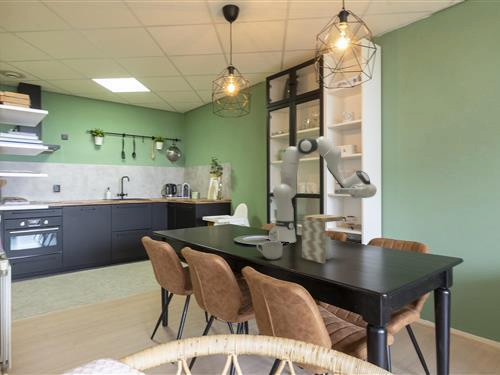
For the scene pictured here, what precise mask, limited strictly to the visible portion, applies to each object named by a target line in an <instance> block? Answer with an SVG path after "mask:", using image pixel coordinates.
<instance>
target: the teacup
mask: <svg viewBox="0 0 500 375" xmlns="http://www.w3.org/2000/svg"><path fill="white" fill-rule="evenodd" d="M283 244H284V243H281V242H277V241H269V240H266V241H263V242H258V243H257V244H256V249H257V250H258V251H259V252H260V253H261V254H262V255H263V257H264V258H265V259H267V260H272V261H273V260H274V261H275V260H278V259H280V258H281V257H282V255H283ZM259 246H260V247H261V248H262V249H261V248H260V247H259Z"/></svg>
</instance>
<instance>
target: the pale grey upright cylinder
mask: <svg viewBox="0 0 500 375" xmlns="http://www.w3.org/2000/svg"><path fill="white" fill-rule="evenodd" d="M331 239H332V238H331V236H328V235H325V257H326V260H331V258H332V256H331V254H332V253H331V251H332V250H331V249H332V248H331V246H332V245H331V243H332V242H331V241H332V240H331Z"/></svg>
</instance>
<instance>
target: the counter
mask: <svg viewBox="0 0 500 375" xmlns="http://www.w3.org/2000/svg"><path fill="white" fill-rule="evenodd" d="M339 221H340V222H342V221H343V216H342V215H341V216H340V215H331V214H324V213H321V214H320V213H318V214H308V215H307V214H306V215H301V259H306V260H308V261H312V262H316V263H320V264H323V265H325V264H326V263H327V262H326V257H325V236H326V223H330V222H339Z"/></svg>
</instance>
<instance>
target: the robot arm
mask: <svg viewBox="0 0 500 375" xmlns="http://www.w3.org/2000/svg"><path fill="white" fill-rule="evenodd" d="M314 152H315V153H318V154H319V155H320V156H321V157H322V158H323V159H324V160H325V162H326V169H327V170H328V171H329V173H330V174H331V176H332V177H333V178H334V179H335V181H336V182H337V184H338V186H339V187H338V188H336V187H335V188H334V191H333V193H334V194H335V195H344V196H345V195H347V196H348V195H349V196H350V197H351V198H352V199H355V200H356V199H369V198H372V197H374V196H376V194H377V187H376V185H374V184H373V183H372V182H371V179H370V177H369V175H368V173H366V172H365V171H363V170H356V171H355V172H353V173H352V174H351V175H350V176H349V177H348V178H345V177H344V176H343V174H342V173H341V171H340V169H339V164H340V161H341V159H342V151H341V149H340V148H339V147H338V146H337V145H336V144H335V143H334V142H333V141H331V139H329V138H327V137H326V136H323V135H321V136H319V137H317V138H316V139H315V138H310V137H303V138H302V139H300V140H299V141H298V143H297V145H296V146H292V145H291V146H288V147H286V149H285V150H284V153H283V157H282V161H281V166H280V173H279V174H280V183H278V184H276V185H275V186H274V187H273V190H272V194H273V197H274V201H275V205H276V220H275V221H274V224H275V225H274V226H273V227H272V228H271V229H270V230H269V233H268V237H269V238H267V237H266V238H267V239H274V240H277V241H288V242H289V243H288V244H291V243H296V242H297V237H296V229H295V220H294V218H295V217H294V215H295V214H294V207H293V203H292V199H293V198H294V197H295V196H296V195H297V176H298V170H299V164H300V159H301V157H302V156H304V157H305V156H310V155H312V153H314Z"/></svg>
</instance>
